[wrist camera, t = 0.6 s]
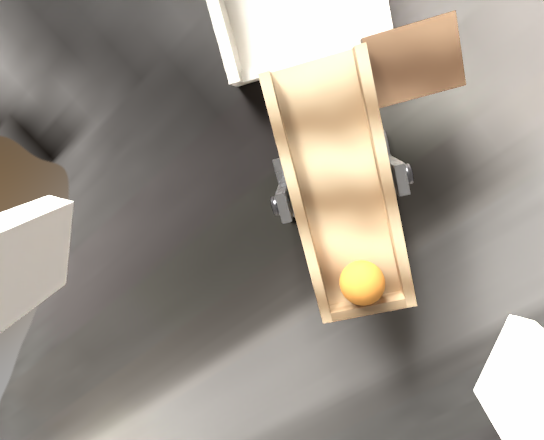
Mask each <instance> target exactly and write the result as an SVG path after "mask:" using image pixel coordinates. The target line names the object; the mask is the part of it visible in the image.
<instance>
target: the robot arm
mask: <svg viewBox="0 0 544 440" xmlns="http://www.w3.org/2000/svg"><path fill="white" fill-rule="evenodd" d="M73 206H74V201H70V200H66V199H62V198H58V197H54V196H51V195H48V196H45V197H42V198H39V199H36V200H34V201H31V202H28V203H25V204H23V205H20V206H17V207H14V208H12V209H9V210H6V211H3V212H0V333H2V332H3V331H4V330H6V329H7V328H8V327H10V326H11V325H12V324H14V323H15V322H16V321H18V320H19V319H20V318H22V317H23V316H24V315H26V314H27V313H28V312H30V311H31V310H32V309H33V308H35V307H36V306H38V305H39V304H40V303H42V302H43V301H44V300H46V299H47V298H48V297H49V296H51V295H52V294H53V293H55V292H56V291H57V290H59V289H60V288H61V287H63V286H64V285H65V284H66V279H67V269H68V258H69V248H70V237H71V227H72V216H73ZM473 391H474V393H475V395H476V396H477V398H478V400H479V401H480V403H481V405H482V407H483V408H484V410H485V412H486V414H487V415H488V417H489V419H490V421H491V422H492V424H493V426H494V428H495V429H496V431H497V433H498V434H499V436H500V438H501V440H544V329H543V328H542V327H541V326H540V325H539V324H538V323H537V322H536V321H534V320H530V319H526V318H523V317H519V316H515V315H511V314H509V316H508V318H507V320H506V322H505V324H504V327H503V329H502V331H501V333H500V335H499V337H498V339H497V341H496V343H495V345H494V347H493V350H492V352H491V354H490V356H489V358H488V360H487V362H486V364H485V366H484V368H483V371H482V373H481V375H480V377H479V379H478V381H477V383H476V385H475V387H474V389H473Z"/></svg>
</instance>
